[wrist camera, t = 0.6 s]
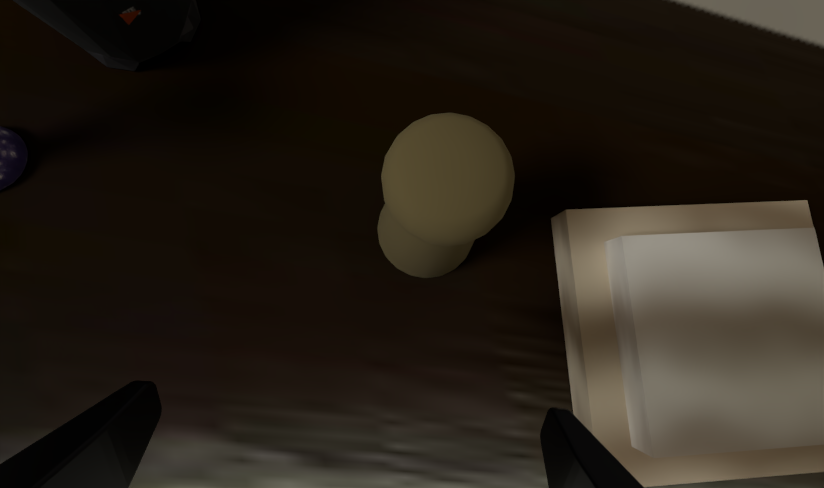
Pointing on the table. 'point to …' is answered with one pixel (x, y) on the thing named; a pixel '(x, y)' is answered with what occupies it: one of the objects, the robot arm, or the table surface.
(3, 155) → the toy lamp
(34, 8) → the portable speaker
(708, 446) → the stepped square base
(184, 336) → the table surface
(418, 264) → the brown ball-topped peg
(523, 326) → the table surface
